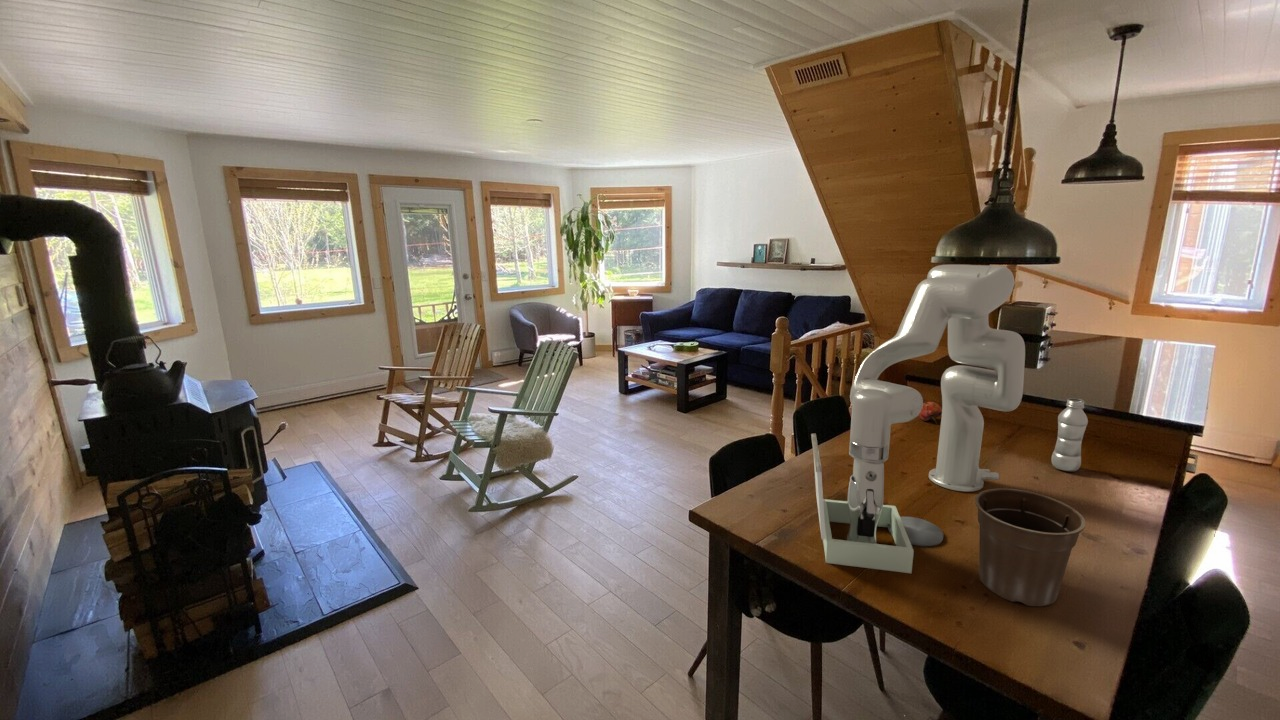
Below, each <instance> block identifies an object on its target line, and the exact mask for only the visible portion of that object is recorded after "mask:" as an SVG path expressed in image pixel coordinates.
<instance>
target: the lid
mask: <svg viewBox="0 0 1280 720" xmlns="http://www.w3.org/2000/svg"><path fill="white" fill-rule="evenodd" d="M810 436H811V437H810V438H811V444H812V451H813V454H812V455H813V466H814V483H815V494H816V503H817V504H816V505H817V506H816V507H817V512H818V514H817V515H818V520H819V528H820V538H821V540H822V541H823V540H826V535H825V520H824V504H823V499H824V493H823V477H822V475H823V474H822V464H821V459H820V451H819V445H818V440H817V439H818V438H817V434H816V433H811V434H810Z"/></svg>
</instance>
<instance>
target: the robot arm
mask: <svg viewBox="0 0 1280 720" xmlns="http://www.w3.org/2000/svg"><path fill="white" fill-rule="evenodd" d="M1014 287H1015V277H1014V274H1013V272H1012V271H1011V270H1010V269H1009V268H1008V267H1006V266H1002V265H984V264H983V265H980V264H978V265H976V264H974V265H973V264H941V265H940V264H939V265H936V266H934V267H932V268H931V269H929V271H928V273H927V276H926V278H925V279H923V280H922V281H920V282H919V283H918V284H917V286H916V288H914V292H913V294H912V296H911V298H910V299H911V300H910V301H909V303H908V306H907V308H906V310H905V313H904V315H903V318H902V319H901V323H900V324H899V327H898V330H897V332H896V334H895V335H894V336H893V337H892V338H890V339H888V340H886V341H885V342H883V343H881V344H880V345H878V346H877V347H876V348H875V349H874V350H873V351H871V352H870V353H869V354H868V355H867V356H865V358H864V359H863V360H862V362H861V364H860V366H859V368H858V370H857V373H856V375H855V377H854V379H853V382H852V385H851V387H850V394H849V401H850V404H851V405H852V406H851V418H850V419H851V420H850V433H849V434H850V435H849V447H848V448H849V449H848V454H849V456H850V457H852V459H853V465H852V467H853V468H852V475H853V481H854V482H855V483H856V498H857V504H858V505H859V506H860V517H858V527H857V534H858V535H859V536H867V537H873V536H874V528H875V503H876V506H877V507H879V508H882V507H883V505H884V488H885V487H884V485H885V483H884V482H885V469H884V467H885V466H884V465H885V464H884V463H885V462H886V461H887V460H889V451H890V443H891V442H890V441H891V430H892V429H891V427H892V425H893V424H900V423H907V422H911V421H913V420H914V419H916V418H917V417H919V416H918V415H919V413H920V412H921V410H922V407H923V401H924V399H923V396H922V394H921V392H920V391H918V390H917V389H915V388H913V387H911V386H907V385H902V384H897V383H892V382H889V381H883V380H880V379H879V377H880V376H881V374H882V373H883V372H884V371H885V370H886V369H887V368H889V367H891V366H893V365H894V364H897V363H899V362H903V361H906V360H910V359H914V358H919V357H922V356H923V357H924V356H926V355H929V354H932V353H934V352H935V351H936V350H937V349H938V347H939V344H940V342H941V339H942V337H943V335H944V333H945V330H946V328H947V351H948V352H947V353H948V356H949V358H950V360H952V361H954V362H955V363H958V364H959V365H953V366H950V367H948V368H946V369H945V370H944V372H943V373H942V375H941V379H940V391H941V403H942V404H941V405H942V406H941V409H942V414H941V417H940V418H941V420H940V427H939V438H938V447H937V457H936V466H935V467H934V468H932V469H930V470H929V472H928V478H929V480H930V481H932V482H933V483H934V485H938V486H940V487H942V488H944V489H948V490H951V491H956V492H964V493H965V492H969V493H970V492H977V491H980V490H981V489H983V488H984V481H985V480H991V481H998V480H1000V475H999V472H995V471H994V472H991V471H990V469H989V468H988V469H987V468H980V467H979V465H980V464H979V463H980V458H981V447H982V441H983V433H984V426H985V421H984V416H983V415H982V412H981V410H980V409H979V408H983V409H984V408H985V409H991V410H995V411H1001V412H1011V411H1014V410H1016V409H1017V408H1018V407H1019V406H1020V404H1021V402H1022V398H1023V394H1024V380H1025V377H1024V376H1025V365H1026V363H1025V361H1026V344H1025V341H1024V338H1023V337H1022V336H1021V334H1019V333H1018V332H1016V331H1012V330H1007V329H998V328H992V327H990V325H989V315H990V313H992V312H994V311H995V310H996V309H998V308H999V307H1001V306H1002V305H1003V304H1004V303H1006V301H1007V300H1008V299H1009V298H1010V297H1011V295H1012V293H1013V290H1014ZM960 364H961V365H960ZM865 498H866V504H863V501H864V499H865ZM863 507H867V509H866V511H864V513H863Z"/></svg>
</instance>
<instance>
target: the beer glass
mask: <svg viewBox="0 0 1280 720" xmlns="http://www.w3.org/2000/svg"><path fill="white" fill-rule="evenodd" d="M846 501H848V512H849V520H850V523H849V529H848V533H847V537H846V541H855V542H863V543H872V544H878V543H877V542H878V541H877V528H878V526H877V524H878V521H879V518H880V515H881V511H882V508H879V507H877V506H876V503H875V528H874V536H873V537H867V536H859V535H858V534H857V527H858V517H860V506H859V505H858V504H857V498H856V483H855V482H854V481H853V474H852V475H851V476H849V484H848V489H847V500H846ZM863 504H866V498H865V499H864V501H863ZM866 509H867V507H863V513H864V511H866Z"/></svg>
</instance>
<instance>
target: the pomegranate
mask: <svg viewBox="0 0 1280 720" xmlns="http://www.w3.org/2000/svg"><path fill="white" fill-rule="evenodd" d="M940 416H942V406H940V405H939V403H937V402H935V401H928V402H925V400H923V407H922V410H921V412H920V413H919V415H918V416H917V417H919V419H921V420H922V421H923V422H927V421H934V422H935V423H936V425H938V423H937V421H936V419H937V418H939V417H940Z"/></svg>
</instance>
